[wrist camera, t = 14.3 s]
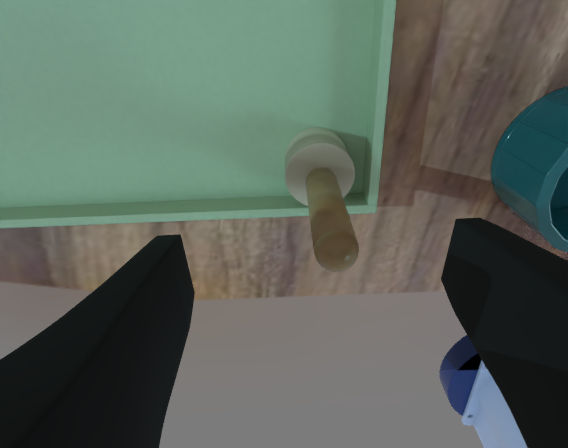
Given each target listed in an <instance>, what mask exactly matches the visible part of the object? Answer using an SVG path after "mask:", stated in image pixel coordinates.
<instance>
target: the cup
mask: <svg viewBox="0 0 568 448" xmlns="http://www.w3.org/2000/svg"><path fill="white" fill-rule="evenodd" d="M491 179H492V184H493V188H494V190H495V192H496V194H497V196H498V197H499V198H500V200H501V201H502V202H503V203H504V204H505V205H506V206H508V208H509V209H510V210H511V211H512V212H513V213H514V214H515V215H517V216H518V217H519V218H520V219H521V220H522V221H524V222H525V223H526V224H527V225H528V226H529V227H531V228H532V229H533V230H534V231H535V232H536V233H537V234H539V235H540V236H541V237H542V238H543V239H544V240H546V241H547V242H548V243H549V244H550V245H551V246H553V247H554V248H556V249H559V250H562V251H565V252H568V86H567V87H564V88H561V89H558V90H556V91H553V92H551V93H549V94H547V95H545V96H544V97H542V98H540V99H539V100H537V101H535V102H534V103H533V104H531V105H530V106H529V107H527V108H526V109H525V110H524V111H523V112H522V113H521V114H520V115H518V117H517V118H516V119H515V120H514V121H513V122H512V123H511V124H510V126H509V127H508V128H507V130H506V131H505V132H504V134H503V136H502V137H501V139H500V141H499V143H498V145H497V147H496V150H495V153H494V156H493V160H492V165H491Z"/></svg>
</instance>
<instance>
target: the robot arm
mask: <svg viewBox="0 0 568 448" xmlns="http://www.w3.org/2000/svg"><path fill="white" fill-rule="evenodd" d="M441 280H442V283H443V285H444V288H445V290H446V293H447V296H448V298H449V300H450V303H451V305H452V307H453V309H454V312H455V314H456V316H457V317H458V319H459V321H460V323H461V325H462V326H463V328H464V330H465V332H466V333H467V335H468V337H469V339H470V340H471V342H472V344H473V345H474V347H475V349H476V350H477V352H478V354H479V356H480V357H481V359H482V360H481V363H480V366H479V369H478V372H477V375H476V378H475V381H474V384H473V387H472V390H471V393H470V396H469V399H468V402H467V404H466V407H465V410H464V413H463V417H462V422H463V424H464V425H474V427H475V429H476V431H477V433H478V436H479V438H480V440H481V442H482V444H483V447H484V448H568V261H567V260H565V259H563V258H561V257H559V256H557V255H555V254H553V253H551V252H549V251H547V250H545V249H543V248H541V247H539V246H537V245H535V244H533V243H531V242H529V241H527V240H525V239H523V238H521V237H519V236H517V235H516V234H514V233H512V232H510V231H508V230H506V229H504V228H502V227H499V226H497V225H495V224H493V223H491V222H489V221H486V220H484V219H481V218H465V219H456V221H455V225H454V229H453V233H452V237H451V241H450V245H449V249H448V253H447V257H446V261H445V265H444V269H443V273H442V277H441ZM194 294H195V293H194V288H193V284H192V280H191V276H190V272H189V268H188V263H187V259H186V255H185V251H184V247H183V243H182V238H181V235H163V236H156V237H155V238H154V239H153V240H151V241H150V242H149V243H148V244H147V245H146V246H145V247H143V248H142V249H141V250H140V251H139V252H138V253H137V254H136V255H135V256H133V257H132V258H131V259H130V260H129V261H128V262H127V263H126V264H125V265H123V266H122V267H121V268H120V269H119V270H118V271H117V272H116V273H114V274H113V275H112V276H111V277H110V278H109V279H108V280H106V281H105V282H104V283H103V284H102V285H101V286H100V287H98V288H97V289H96V290H95V291H93V292H92V293H91V294H90V295H88V296H87V297H86V298H85V299H84V300H82V301H81V302H80V303H79V304H77V305H76V306H75V307H74V308H72V309H71V310H70V311H69V312H67V313H66V314H65V315H64V316H62V317H61V318H60V319H58V320H57V321H56V322H54V323H53V324H52V325H51V326H49V327H48V328H46V329H45V330H44V331H42V332H41V333H39V334H38V335H36V336H35V337H33V338H32V339H30V340H29V341H28V342H26V343H25V344H23V345H22V346H20V347H19V348H18V349H16V350H14V351H13V352H11V353H10V354H8V355H7V356H5V357H4V358H2V359H1V360H0V448H159V443H160V438H161V433H162V427H163V423H164V419H165V415H166V411H167V407H168V403H169V400H170V396H171V393H172V389H173V386H174V382H175V379H176V375H177V372H178V368H179V364H180V361H181V357H182V354H183V350H184V346H185V343H186V339H187V336H188V332H189V328H190V322H191V316H192V309H193V301H194Z"/></svg>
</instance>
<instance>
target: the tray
mask: <svg viewBox="0 0 568 448" xmlns="http://www.w3.org/2000/svg"><path fill="white" fill-rule="evenodd" d="M395 11H396V0H0V228H18V227H42V226H67V225H92V224H117V223H141V222H166V221H191V220H216V219H241V218H265V217H290V216H309V208H308V206H307V205H304V204H302V203H300V202H299V201H297V200H296V199H295V198H294V197H293V196H292V195H291V194H290V192H289V190H288V188H287V186H286V182H285V153H286V149H287V147H288V144H289V143H290V141H291V140H292V139H293V138H294V137H295V136H296V135H297V134H298V133H300V132H302V131H303V130H306V129H309V128H315V127H318V128H325V129H329V130H331V131H333V132H334V133H336V134H337V135H338V136H339V137H340V138H341V139H342V141H343V142H344V144H345V147H346V149H347V151H348V153H349V155H350V157H351V159H352V161H353V164H354V169H355V178H354V182H353V185H352V187H351V189H350V191H349V192H348V193H347V195H346V196H345V197H344V198H343V199H344V202H345V205H346V208H347V211H348V214H364V213H376V212H377V202H378V191H379V181H380V170H381V160H382V149H383V138H384V128H385V117H386V106H387V96H388V85H389V74H390V64H391V53H392V43H393V32H394V21H395Z"/></svg>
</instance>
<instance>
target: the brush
mask: <svg viewBox="0 0 568 448" xmlns="http://www.w3.org/2000/svg"><path fill="white" fill-rule="evenodd" d="M354 178H355V169H354V164H353V161H352V159H351V157H350V155H349V153H348V151H347V149H346V147H345V144H344V142H343V141H342V139H341V138H340V137H339V136H338V135H337V134H336V133H334V132H333V131H331V130H329V129H325V128H318V127H315V128H309V129H306V130H303V131H302V132H300V133H298V134H297V135H296V136H295V137H294V138H293V139H292V140H291V141H290V143H289V144H288V147H287V149H286V153H285V182H286V186H287V188H288V190H289V192H290V194H291V195H292V196H293V197H294V198H295V199H296V200H297V201H299V202H300V203H302V204H304V205H307V206H308V208H309V216H310V223H311V231H312V239H313V247H314V254H315V257H316V260H317V261H318V262H319V264H320V265H321V266H322V267H324V268H325V269H327V270H329V271H334V272H339V271H344V270H346V269H348V268H350V267H351V266H352V265H353V264H354V262H355V261H356V259H357V257H358V252H359V247H358V242H357V239H356V236H355V233H354V230H353V227H352V224H351V221H350V218H349V214H348V211H347V208H346V205H345V202H344V199H343V198H344V197H345V196H346V195H347V193H348V192H349V191H350V189H351V187H352V185H353V182H354Z"/></svg>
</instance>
